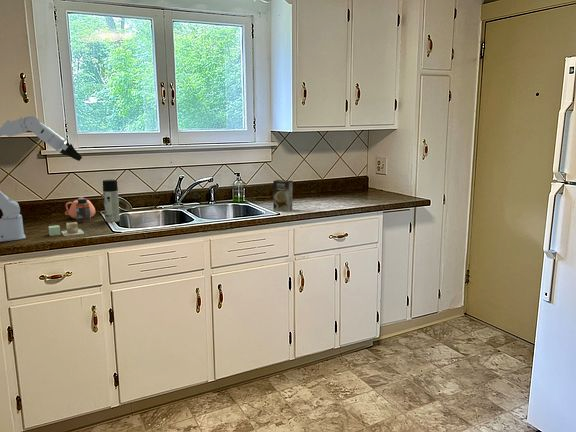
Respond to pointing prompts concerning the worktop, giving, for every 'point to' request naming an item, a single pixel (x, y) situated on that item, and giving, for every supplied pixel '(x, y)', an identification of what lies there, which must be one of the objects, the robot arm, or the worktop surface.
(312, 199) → the worktop surface
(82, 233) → the baseplate
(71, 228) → the beech brick
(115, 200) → the spray can
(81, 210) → the supplement bottle
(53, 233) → the sage brick
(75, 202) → the sugar bowl
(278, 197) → the coffee box
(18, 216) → the robot arm
